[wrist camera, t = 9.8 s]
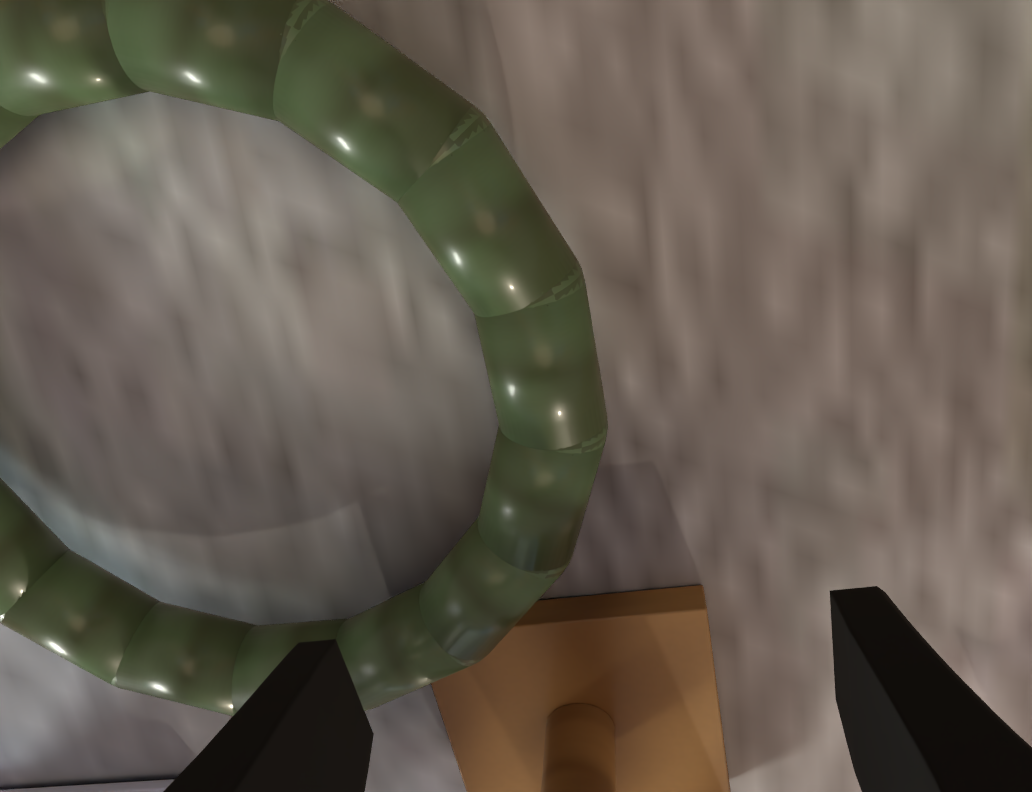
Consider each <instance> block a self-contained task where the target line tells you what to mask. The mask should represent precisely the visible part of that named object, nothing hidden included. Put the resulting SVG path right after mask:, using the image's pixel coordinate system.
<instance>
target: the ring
mask: <svg viewBox="0 0 1032 792" xmlns="http://www.w3.org/2000/svg"><path fill="white" fill-rule="evenodd" d="M149 91H151V92H155V93H159V94H164V95H168V96H172V97H177V98H181V99H185V100H190V101H194V102H198V103H203V104H207V105H211V106H216V107H220V108H224V109H229V110H233V111H237V112H242V113H246V114H250V115H254V116H259V117H263V118H267V119H272V120H276V121H280V122H281V123H283V124H284V125H286V126H287V127H288V128H290V129H291V130H293V131H294V132H296V133H297V134H299V135H300V136H302V137H303V138H304V139H306V140H307V141H309V142H310V143H312V144H313V145H315V146H316V147H318V148H319V149H320V150H322V151H323V152H325V153H326V154H328V155H329V156H331V157H332V158H333V159H335V160H336V161H338V162H339V163H341V164H342V165H344V166H345V167H347V168H348V169H349V170H351V171H352V172H354V173H355V174H357V175H358V176H360V177H361V178H362V179H364V180H365V181H367V182H368V183H370V184H371V185H373V186H374V187H376V188H377V189H378V190H380V191H381V192H383V193H384V194H386V195H387V196H389V197H390V198H391V199H393V200H394V201H396V202H397V203H398V204H399V206H400V207H401V209H402V210H403V211H404V213H405V214H406V216H407V217H408V219H409V220H410V222H411V223H412V224H413V226H414V227H415V229H416V230H417V232H418V233H419V235H420V236H421V237H422V239H423V240H424V242H425V243H426V245H427V246H428V247H429V249H430V250H431V252H432V253H433V255H434V256H435V258H436V259H437V260H438V262H439V263H440V265H441V266H442V268H443V269H444V271H445V272H446V273H447V275H448V276H449V278H450V279H451V281H452V282H453V284H454V285H455V286H456V288H457V289H458V291H459V292H460V294H461V295H462V297H463V298H464V299H465V301H466V302H467V304H468V305H469V307H470V308H471V309H472V311H473V312H474V315H475V319H476V324H477V328H478V333H479V337H480V342H481V346H482V351H483V355H484V360H485V364H486V369H487V373H488V378H489V382H490V387H491V391H492V395H493V400H494V404H495V409H496V413H497V418H498V422H499V427H498V432H497V436H496V441H495V446H494V450H493V455H492V459H491V464H490V468H489V473H488V477H487V482H486V486H485V491H484V495H483V500H482V505H481V509H480V514H479V517H478V518H477V519H476V521H475V522H474V523H473V524H472V525H471V527H470V528H469V529H468V530H467V532H466V533H465V534H464V535H463V537H462V538H461V539H460V540H459V541H458V543H457V544H456V545H455V546H454V548H453V549H452V550H451V551H450V553H449V554H448V555H447V556H446V557H445V559H444V560H443V561H442V562H441V564H440V565H439V566H438V567H437V569H436V570H435V571H434V572H433V574H432V575H431V576H430V577H429V578H428V580H427V581H426V582H424V583H422V584H420V585H418V586H415V587H413V588H411V589H409V590H407V591H405V592H403V593H401V594H399V595H397V596H395V597H393V598H391V599H389V600H387V601H385V602H383V603H380V604H378V605H376V606H374V607H372V608H370V609H368V610H366V611H364V612H362V613H360V614H358V615H356V616H354V617H352V618H348V619H335V620H323V621H310V622H297V623H284V624H272V625H259V626H258V625H254V624H250V623H245V622H241V621H237V620H233V619H229V618H225V617H221V616H217V615H213V614H208V613H204V612H200V611H196V610H192V609H188V608H184V607H180V606H176V605H171V604H167V603H163V602H160V601H158V600H157V599H155V598H153V597H151V596H150V595H148V594H146V593H144V592H143V591H141V590H139V589H137V588H136V587H134V586H132V585H131V584H129V583H127V582H125V581H124V580H122V579H120V578H118V577H117V576H115V575H113V574H111V573H110V572H108V571H106V570H105V569H103V568H101V567H99V566H98V565H96V564H94V563H92V562H91V561H89V560H87V559H85V558H84V557H82V556H80V555H79V554H77V553H75V552H73V551H72V550H70V549H69V548H68V547H67V546H66V545H65V544H64V543H63V542H62V541H61V540H60V539H59V538H58V537H57V536H56V535H55V534H54V533H53V532H52V531H51V530H50V529H49V528H48V527H47V526H46V525H45V524H44V523H43V522H42V521H41V519H40V518H39V517H38V516H37V515H36V514H35V513H34V512H33V511H32V510H31V509H30V508H29V507H28V506H27V505H26V504H25V503H24V502H23V501H22V500H21V499H20V498H19V497H18V496H17V495H16V494H15V493H14V492H13V491H12V489H11V488H10V487H9V486H8V485H7V484H6V483H5V482H4V481H3V480H2V479H1V478H0V623H1V624H3V625H5V626H6V627H8V628H10V629H12V630H14V631H15V632H17V633H19V634H21V635H23V636H24V637H26V638H28V639H30V640H32V641H33V642H35V643H37V644H39V645H41V646H42V647H44V648H46V649H48V650H50V651H51V652H53V653H55V654H57V655H59V656H60V657H62V658H64V659H66V660H68V661H69V662H71V663H73V664H75V665H77V666H78V667H80V668H82V669H84V670H86V671H87V672H89V673H91V674H93V675H95V676H96V677H98V678H100V679H102V680H104V681H105V682H107V683H109V684H111V685H113V686H116V687H118V688H121V689H125V690H129V691H133V692H137V693H141V694H146V695H150V696H154V697H158V698H162V699H166V700H170V701H174V702H178V703H182V704H186V705H190V706H194V707H198V708H203V709H207V710H211V711H215V712H219V713H223V714H227V715H231V716H234V715H235V714H236V712H237V711H238V710H239V709H240V708H241V707H242V706H243V704H244V703H245V702H246V701H247V700H248V699H249V698H250V696H251V695H252V694H253V693H254V692H255V691H256V690H257V688H258V687H259V686H260V685H261V684H262V683H263V681H264V680H265V679H266V678H267V677H268V676H269V675H270V673H271V672H272V671H273V670H274V669H275V668H276V667H277V665H278V664H279V663H280V662H281V661H282V660H283V659H284V658H285V656H286V655H287V654H288V653H289V652H290V651H291V650H292V649H293V648H294V647H295V646H296V645H297V644H298V643H299V642H309V641H319V640H330V639H336V641H337V644H338V646H339V649H340V651H341V654H342V656H343V659H344V661H345V664H346V666H347V669H348V671H349V674H350V676H351V679H352V681H353V684H354V686H355V689H356V691H357V694H358V696H359V699H360V701H361V704H362V706H363V709H364V711H366V710H370V709H373V708H376V707H378V706H380V705H382V704H385V703H387V702H389V701H392V700H394V699H396V698H399V697H401V696H403V695H405V694H408V693H410V692H412V691H415V690H417V689H419V688H422V687H424V686H426V685H428V684H431V683H433V682H435V681H438V680H440V679H442V678H444V677H447V676H449V675H451V674H454V673H456V672H458V671H461V670H463V669H465V668H467V667H470V666H472V665H474V664H476V663H478V662H479V661H481V660H482V659H484V658H485V657H486V656H487V655H488V654H489V653H490V652H491V651H492V650H493V649H494V648H495V647H496V646H497V644H498V643H499V642H500V641H501V640H502V639H503V638H504V637H505V636H506V635H507V633H508V632H509V631H510V630H511V629H512V628H513V627H514V626H515V625H516V624H517V622H518V621H519V620H520V619H521V618H522V617H523V616H524V615H525V614H526V613H527V611H528V610H529V609H530V608H531V607H532V606H533V605H534V604H535V603H536V602H537V601H538V599H539V598H540V597H541V596H542V595H543V594H544V593H545V592H546V591H547V590H548V588H549V587H550V586H551V585H552V584H553V583H554V582H555V581H556V580H557V579H558V577H559V576H560V575H561V574H562V573H563V572H564V570H565V569H566V567H567V566H568V564H569V563H570V560H571V558H572V555H573V552H574V549H575V545H576V542H577V538H578V535H579V532H580V528H581V525H582V521H583V518H584V514H585V511H586V507H587V504H588V500H589V497H590V493H591V490H592V486H593V483H594V479H595V476H596V472H597V469H598V465H599V462H600V458H601V455H602V451H603V448H604V444H605V441H606V436H607V430H608V421H607V412H606V406H605V400H604V394H603V388H602V382H601V376H600V369H599V363H598V357H597V351H596V345H595V339H594V333H593V327H592V321H591V315H590V309H589V303H588V297H587V291H586V285H585V279H584V276H583V272H582V268H581V266H580V264H579V262H578V260H577V258H576V257H575V255H574V254H573V252H572V251H571V249H570V247H569V246H568V244H567V243H566V241H565V240H564V238H563V236H562V235H561V233H560V232H559V230H558V228H557V227H556V225H555V224H554V222H553V221H552V219H551V217H550V216H549V214H548V213H547V211H546V210H545V208H544V206H543V205H542V203H541V202H540V200H539V199H538V197H537V195H536V194H535V192H534V191H533V189H532V188H531V186H530V184H529V183H528V181H527V180H526V178H525V176H524V175H523V173H522V172H521V170H520V169H519V167H518V165H517V164H516V162H515V161H514V159H513V158H512V156H511V154H510V153H509V151H508V150H507V148H506V147H505V145H504V143H503V142H502V140H501V139H500V137H499V136H498V134H497V132H496V131H495V129H494V128H493V126H492V124H491V123H490V121H489V120H488V119H487V118H486V116H485V115H484V114H483V113H482V112H481V111H480V110H479V109H478V108H477V107H475V106H474V105H473V104H471V103H470V102H469V101H467V100H466V99H465V98H463V97H462V96H460V95H459V94H458V93H456V92H455V91H453V90H452V89H451V88H449V87H448V86H446V85H445V84H444V83H442V82H441V81H440V80H438V79H437V78H435V77H434V76H433V75H431V74H430V73H428V72H427V71H426V70H424V69H423V68H422V67H420V66H419V65H417V64H416V63H415V62H413V61H412V60H410V59H409V58H408V57H406V56H405V55H404V54H402V53H401V52H399V51H398V50H397V49H395V48H394V47H392V46H391V45H390V44H388V43H387V42H385V41H384V40H383V39H381V38H380V37H379V36H377V35H376V34H374V33H373V32H372V31H370V30H369V29H367V28H366V27H365V26H363V25H362V24H361V23H359V22H358V21H356V20H355V19H354V18H352V17H351V16H349V15H348V14H347V13H345V12H344V11H343V10H341V9H340V8H338V7H337V6H336V5H334V4H333V3H331V2H329V1H328V0H0V149H1V148H2V147H3V146H4V145H6V144H7V143H8V142H9V141H10V140H11V139H12V138H14V137H15V136H16V135H17V134H18V133H19V132H20V131H22V130H23V129H24V128H25V127H26V126H27V125H28V124H30V123H31V122H32V121H33V120H34V119H35V118H36V117H38V116H39V115H40V114H45V113H50V112H55V111H59V110H64V109H69V108H74V107H78V106H83V105H88V104H92V103H97V102H102V101H107V100H111V99H116V98H121V97H126V96H130V95H135V94H140V93H144V92H149Z"/></svg>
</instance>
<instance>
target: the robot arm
mask: <svg viewBox="0 0 1032 792" xmlns="http://www.w3.org/2000/svg"><path fill="white" fill-rule="evenodd" d="M830 602H831V620H832V639H833V657H834V675H835V694H836V702H837V706H838V710H839V713H840V717H841V721H842V725H843V729H844V733H845V737H846V741H847V745H848V748H849V752H850V756H851V760H852V764H853V767H854V771H855V774H856V777H857V779H858V782H859V785H860V787H861V790H862V792H1032V747H1031V746H1030V745H1029V744H1027V743H1026V742H1025V741H1024V740H1023V739H1022V738H1021V737H1020V736H1019V735H1018V734H1016V733H1015V732H1014V731H1013V730H1012V729H1011V728H1010V727H1009V726H1008V725H1007V724H1006V723H1005V722H1004V721H1003V720H1002V719H1001V718H1000V717H999V716H998V715H997V714H996V713H995V712H993V711H992V710H991V708H990V707H989V706H988V705H987V704H986V703H985V702H984V701H983V700H982V699H981V698H980V697H979V696H978V695H977V694H976V693H975V692H974V691H973V690H972V689H971V688H970V687H969V686H968V685H967V684H966V683H965V682H964V681H963V680H962V679H961V678H960V677H959V676H958V675H957V674H956V673H955V672H954V671H953V670H952V669H951V668H950V667H949V666H948V665H947V663H946V662H945V661H944V660H943V659H942V658H941V657H940V656H939V655H938V654H937V653H936V651H935V650H934V649H933V648H932V647H931V646H930V645H929V644H928V643H927V642H926V640H925V639H924V638H923V637H922V636H921V635H920V634H919V632H918V631H917V630H916V629H915V628H914V627H913V626H912V624H911V623H910V622H909V621H908V620H907V619H906V617H905V616H904V615H903V614H902V613H901V611H900V610H899V609H898V608H897V606H896V605H895V604H894V603H893V602H892V600H891V599H890V598H889V596H888V595H887V594H886V593H885V592H884V591H883V590H881V589H880V588H879V587H877V586H874V587H864V588H854V589H843V590H833V591H830ZM372 741H373V732H372V729H371V727H370V724H369V721H368V719H367V716H366V714H365V711H364V709H363V706H362V704H361V701H360V699H359V696H358V694H357V691H356V689H355V686H354V684H353V681H352V679H351V676H350V674H349V671H348V669H347V666H346V664H345V661H344V659H343V656H342V654H341V651H340V649H339V646H338V644H337V641H336V639H330V640H319V641H309V642H299V643H298V644H297V645H296V646H295V647H294V648H293V649H292V650H291V651H290V652H289V653H288V654H287V655H286V656H285V658H284V659H283V660H282V661H281V662H280V663H279V664H278V665H277V667H276V668H275V669H274V670H273V671H272V672H271V673H270V675H269V676H268V677H267V678H266V679H265V680H264V681H263V683H262V684H261V685H260V686H259V687H258V688H257V690H256V691H255V692H254V693H253V694H252V695H251V696H250V698H249V699H248V700H247V701H246V702H245V703H244V704H243V706H242V707H241V708H240V709H239V710H238V711H237V712H236V714H235V715H234V716H233V717H232V718H231V719H230V720H229V721H228V723H227V724H226V725H225V726H224V727H223V728H222V729H221V730H220V731H219V733H218V734H217V735H216V736H215V737H214V738H213V739H212V740H211V742H210V743H209V744H208V745H207V746H206V747H205V748H204V749H203V751H202V752H201V753H200V754H199V755H198V756H197V757H196V758H195V759H194V760H193V761H192V762H191V763H190V764H189V765H188V766H187V767H186V768H185V770H184V771H183V772H182V773H181V774H180V775H179V776H178V777H177V778H176V779H168V780H152V781H136V782H120V783H104V784H88V785H72V786H56V787H40V788H24V789H8V790H0V792H364V791H365V785H366V780H367V774H368V768H369V761H370V754H371V747H372Z"/></svg>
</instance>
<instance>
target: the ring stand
mask: <svg viewBox="0 0 1032 792" xmlns="http://www.w3.org/2000/svg"><path fill="white" fill-rule="evenodd" d="M431 686H432V689H433V692H434V695H435V698H436V701H437V704H438V707H439V710H440V713H441V716H442V719H443V722H444V725H445V728H446V731H447V734H448V737H449V740H450V743H451V746H452V749H453V752H454V755H455V758H456V761H457V764H458V767H459V770H460V773H461V776H462V779H463V782H464V785H465V788H466V791H467V792H730V784H729V776H728V768H727V761H726V753H725V745H724V738H723V730H722V722H721V714H720V707H719V699H718V691H717V683H716V676H715V668H714V660H713V652H712V645H711V637H710V629H709V621H708V614H707V607H706V600H705V594H704V587H703V586H702V585H696V586H685V587H675V588H664V589H654V590H643V591H633V592H622V593H611V594H601V595H590V596H580V597H569V598H559V599H548V600H538V601H537V602H536V603H535V604H534V605H533V606H532V607H531V608H530V609H529V610H528V611H527V613H526V614H525V615H524V616H523V617H522V618H521V619H520V620H519V621H518V622H517V624H516V625H515V626H514V627H513V628H512V629H511V630H510V631H509V632H508V633H507V635H506V636H505V637H504V638H503V639H502V640H501V641H500V642H499V643H498V644H497V646H496V647H495V648H494V649H493V650H492V651H491V652H490V653H489V654H488V655H487V656H486V657H485V658H484V659H482V660H481V661H479V662H478V663H476V664H474V665H472V666H470V667H467V668H465V669H463V670H461V671H458V672H456V673H454V674H451V675H449V676H447V677H444V678H442V679H440V680H438V681H435V682H433V683H431Z"/></svg>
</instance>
